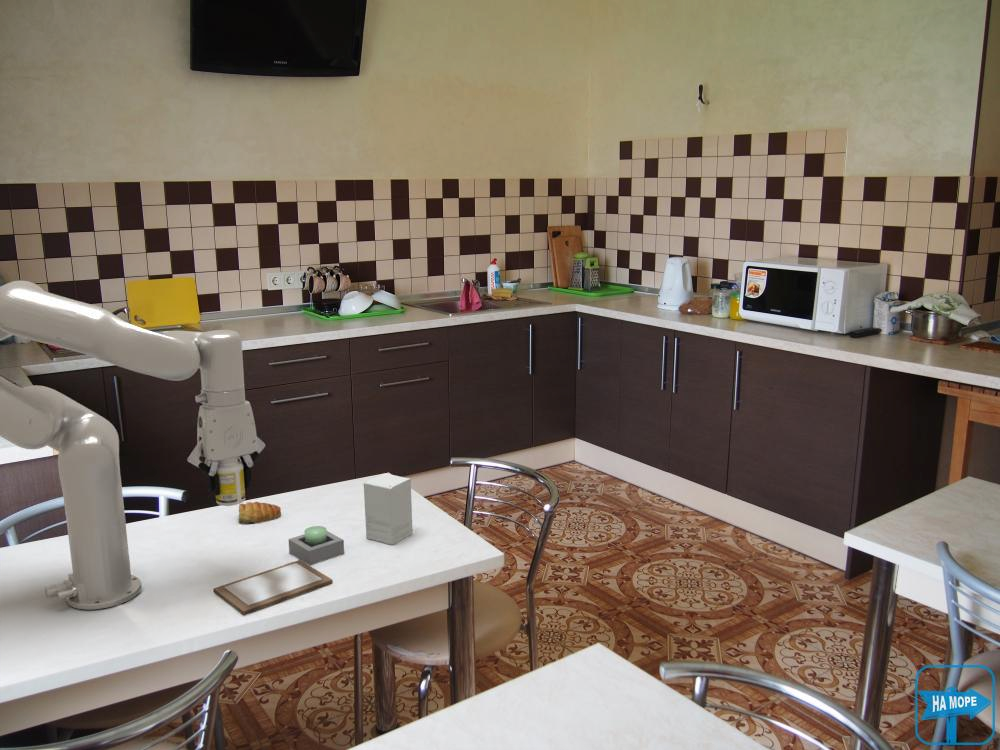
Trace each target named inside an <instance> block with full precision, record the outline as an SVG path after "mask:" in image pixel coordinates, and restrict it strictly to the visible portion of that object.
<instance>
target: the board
mask: <svg viewBox="0 0 1000 750" xmlns="http://www.w3.org/2000/svg"><path fill="white" fill-rule="evenodd" d="M333 583H334V581H333V579H332V578H331V577H329V576H327V575H325V574H324V573H322V572H321V571H319V570H318V569H316V568H314V567H313V566H311V565H309V564H307V563H305V562H304V561H302V560H300V559H298V560H296V561H295V560H294V561H291V562H288V563H286V564H284V565H280V566H276V567H274V568H271V569H268V570H264V571H262V572H259V573H256V574H252V575H249V576H247V577H243V578H241V579H238V580H235V581H231V582H228V583H226V584H223V585H222V584H221V585H220V586H219V585H218V586H217V587H213V594H215V595H216V596H218V597H219V598H220V599H222V600H223V601H224V602H226V603H227V604H228V605H230V606H231V607H232V608H233V609H235V610H236V611H237V612H238V613H240V614H241V615H242V616H247V615H250V614H253V613H256V612H258V611H261V610H264V609H267V608H270V607H272V606H274V605H278V604H280V603H283V602H286V601H288V600H292V599H294V598H297V597H299V596H302V595H305V594H308V593H310V592H311V593H312V592H313V591H316V590H318V589H319V590H320V589H322V588H324V587H328V586H330V585H333Z"/></svg>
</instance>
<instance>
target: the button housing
mask: <svg viewBox="0 0 1000 750" xmlns="http://www.w3.org/2000/svg"><path fill="white" fill-rule="evenodd" d="M344 541H345V540H344V539H343V538H341V537H339V536H338V535H335V534H334V533H332V532H330V531H328V530H327V540H326V541H325V542H322V543H318V544H309V543H306V542H305V533H304V534H301V535H297V536H295V537H291V538H288V553H289V554H291V555H292V556H293V557H295V558H297V559H298V560H301V561H303V562H304V563H306V564H308V565H309V566H311V565H315V564H318V563H321V562H323V561H327V560H330V559H332V558H335V557H338V556H342V555H344V554H345V545H344V543H345V542H344Z"/></svg>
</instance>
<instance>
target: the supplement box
mask: <svg viewBox="0 0 1000 750" xmlns="http://www.w3.org/2000/svg"><path fill="white" fill-rule="evenodd" d="M411 481H412V479H411V478H410V477H406V476H405V477H404V476H399V475H394V474H389V473H382V474H380V475H378V476H375V477H374V478H371V479H369V480H367V481H365V482H363V493H364V494H363V496H364V499H363V500H364V517H365V538H366V539H369V540H372V541H376V542H380V543H384V544H387V545H395V544H396V543H399V542H401V541H402V540H404V539H406V538H407V537H409V536H411V535H412V534H413V510H412V509H413V507H412V505H413V504H412V482H411Z"/></svg>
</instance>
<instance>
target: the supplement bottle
mask: <svg viewBox="0 0 1000 750" xmlns="http://www.w3.org/2000/svg"><path fill="white" fill-rule="evenodd" d="M216 474H217V475H218V476H219V487H220V494H219V495H217V496H215V502H216V504H217V505H220V506H223V507H230V506H236V505H239V504H243V503H244V501H246V487H245V485H244V470H243V464H242V463H241V462H240V459H239V457H236V458H232V459H227V460H222V461H218V465H217V469H216Z"/></svg>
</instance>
